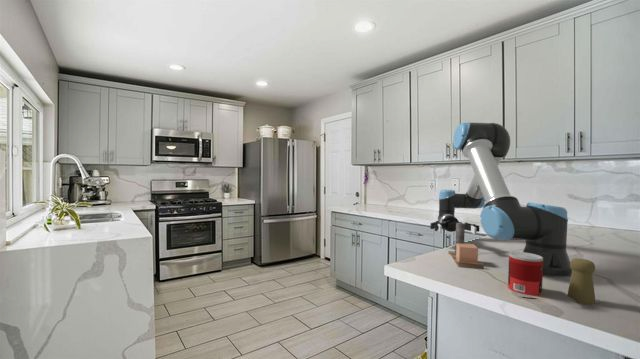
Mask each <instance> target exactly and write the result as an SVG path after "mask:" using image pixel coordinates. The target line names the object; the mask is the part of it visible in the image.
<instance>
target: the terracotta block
mask: <svg viewBox="0 0 640 359" xmlns="http://www.w3.org/2000/svg"><path fill="white" fill-rule="evenodd" d="M455 245H456V260H457V261H458V262H468V263H479V262H478V259H479V258H478V256H479V252H478V251H479V248H478V247H477V246H476V245H475V244H473V243H472V244H471V243H464V244H459V243H457V244H456V243H455Z"/></svg>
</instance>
